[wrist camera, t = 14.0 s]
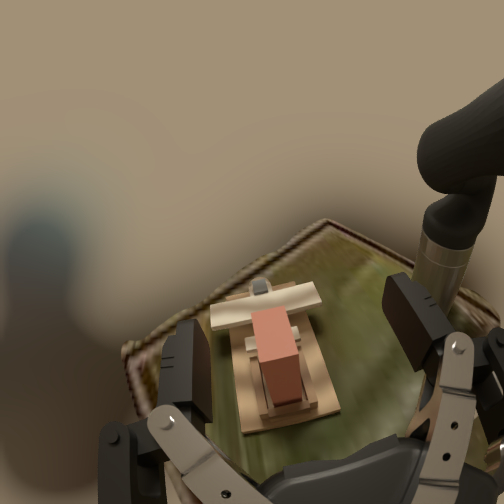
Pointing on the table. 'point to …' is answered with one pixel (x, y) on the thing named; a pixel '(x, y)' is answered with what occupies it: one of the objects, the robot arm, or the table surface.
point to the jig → (247, 360)
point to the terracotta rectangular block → (278, 355)
